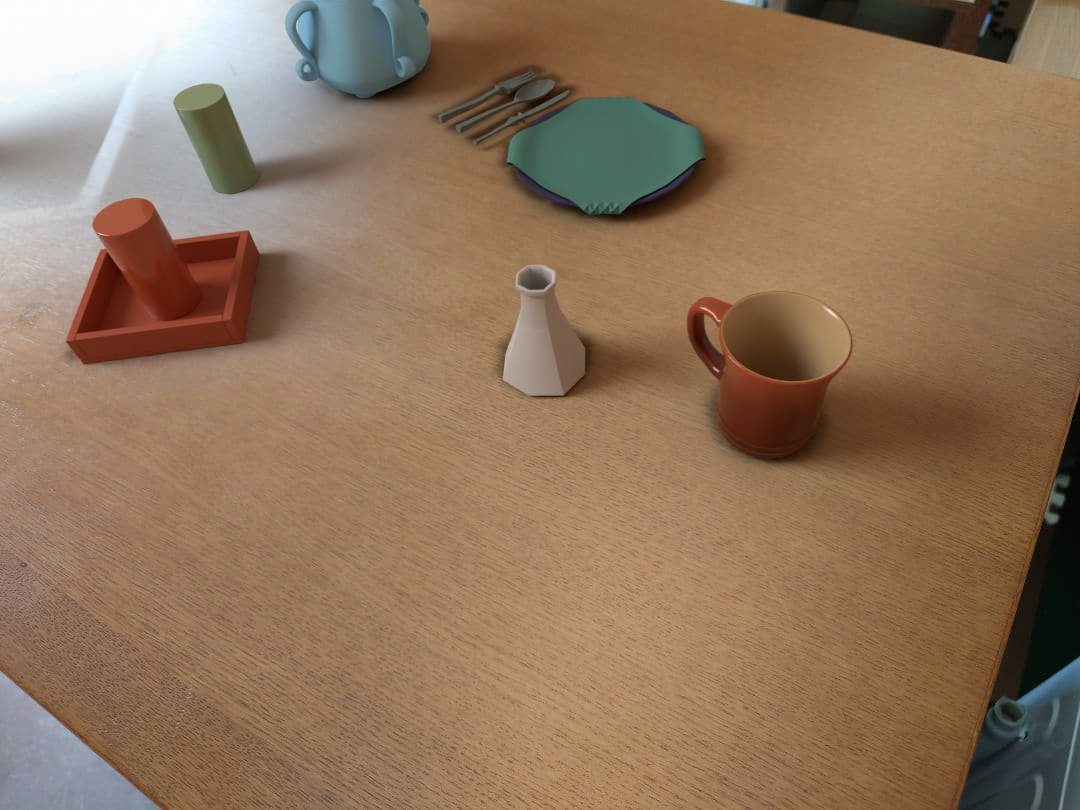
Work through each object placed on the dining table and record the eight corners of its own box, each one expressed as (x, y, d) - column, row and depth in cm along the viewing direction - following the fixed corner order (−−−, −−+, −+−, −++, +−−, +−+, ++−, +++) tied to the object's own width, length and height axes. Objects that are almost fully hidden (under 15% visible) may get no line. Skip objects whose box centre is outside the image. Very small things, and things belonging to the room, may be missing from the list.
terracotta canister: (141, 324, 72) (84, 239, 64) (152, 286, 76) (100, 201, 68) (197, 317, 72) (147, 231, 65) (206, 279, 76) (159, 193, 68)
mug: (843, 422, 60) (878, 329, 52) (778, 494, 56) (805, 405, 49) (716, 348, 66) (730, 254, 58) (650, 408, 62) (655, 317, 54)
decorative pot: (290, 106, 96) (250, -7, 86) (333, 42, 106) (302, -67, 95) (416, 110, 94) (391, -7, 83) (448, 44, 103) (429, -68, 93)
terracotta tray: (82, 364, 70) (64, 341, 68) (115, 272, 78) (100, 249, 76) (243, 342, 70) (231, 319, 68) (259, 253, 78) (249, 229, 76)
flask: (521, 328, 69) (510, 239, 61) (598, 346, 67) (597, 256, 59) (489, 387, 65) (472, 299, 57) (570, 408, 63) (564, 320, 55)
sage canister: (208, 196, 85) (168, 113, 78) (216, 169, 89) (177, 86, 81) (256, 190, 85) (220, 106, 78) (261, 163, 89) (227, 80, 81)
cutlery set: (602, 249, 75) (602, 230, 73) (423, 132, 90) (419, 114, 88) (738, 161, 82) (740, 142, 80) (551, 66, 98) (550, 48, 96)
